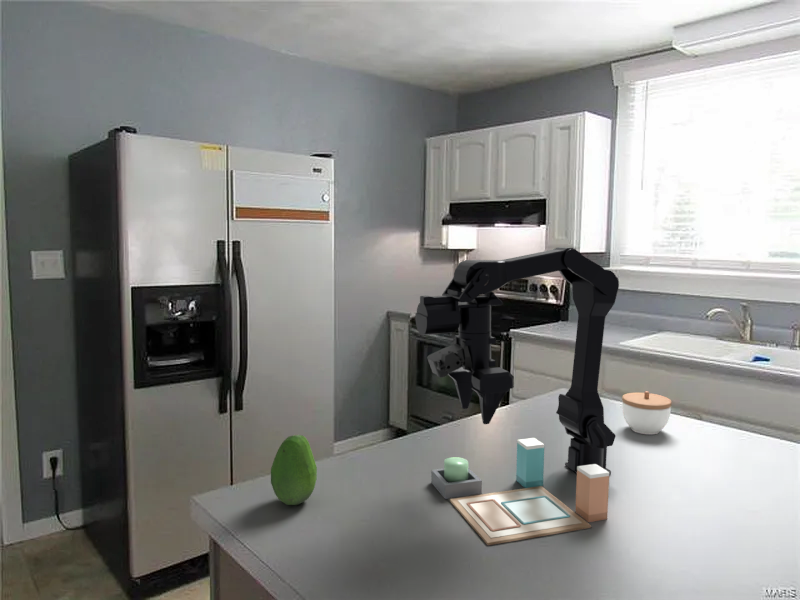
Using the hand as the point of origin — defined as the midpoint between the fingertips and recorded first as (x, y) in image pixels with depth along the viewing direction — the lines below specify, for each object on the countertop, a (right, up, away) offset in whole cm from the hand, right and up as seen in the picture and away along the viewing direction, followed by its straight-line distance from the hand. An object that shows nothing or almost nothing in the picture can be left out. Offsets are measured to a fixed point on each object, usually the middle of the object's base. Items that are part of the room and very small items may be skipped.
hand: (475, 415), depth 105 cm
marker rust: (+18, -15, -9) cm, 25 cm away
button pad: (-3, -13, +1) cm, 14 cm away
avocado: (-32, -14, -5) cm, 35 cm away
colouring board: (+6, -15, -9) cm, 18 cm away
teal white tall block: (+11, -13, +3) cm, 17 cm away
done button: (-3, -11, +1) cm, 12 cm away
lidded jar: (+44, -10, +32) cm, 56 cm away
